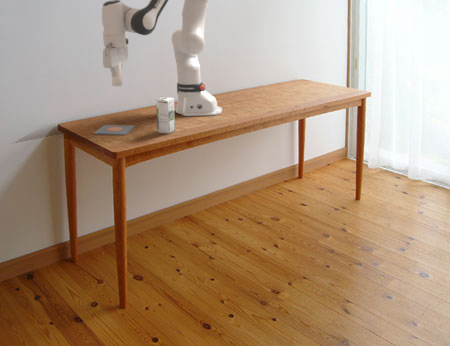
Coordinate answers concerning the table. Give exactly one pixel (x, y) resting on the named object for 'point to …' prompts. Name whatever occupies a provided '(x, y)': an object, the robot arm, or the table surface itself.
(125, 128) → the card
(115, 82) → the tube
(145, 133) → the table surface
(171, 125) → the syrup box
